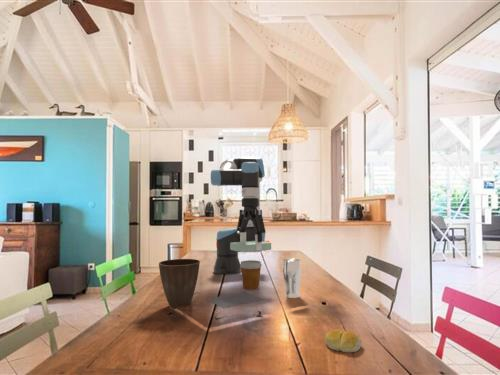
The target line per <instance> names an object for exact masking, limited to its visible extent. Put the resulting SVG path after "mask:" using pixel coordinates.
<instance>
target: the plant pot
mask: <svg viewBox="0 0 500 375" xmlns="http://www.w3.org/2000/svg"><path fill="white" fill-rule="evenodd" d="M200 263H201V261H200V260H199V259H194V258H193V259H192V258H175V259H167V260H162V261H159V262H158V270H159V276H160V280H161V284H162V288H163V291H164V295H165V298H166V301H167V303H168V305H169V308H171V307H172V308H171V309H175V308H178V307H185V306H188V305H190V304H192V301H193V297H194V295H195V294H194V293H195V292H196V286H197V282H198V278H199V271H200Z"/></svg>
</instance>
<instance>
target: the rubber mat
mask: <svg viewBox="0 0 500 375" xmlns="http://www.w3.org/2000/svg"><path fill="white" fill-rule="evenodd" d="M205 300H206V301H207V302H210V303H212V304H214V305H216V306H218V307H220V308H222V309H226V308H231V307H236V306H241V305H246V304H247V305H248V304H252V303H256V302H260V301H265V300H266V299H264V298H261V297H259V296H256V295H254V294H252V293H249V292H246V291H241V292H236V293H231V294H225V295H221V296H214V297H210V298H205Z"/></svg>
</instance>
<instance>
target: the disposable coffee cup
mask: <svg viewBox="0 0 500 375" xmlns="http://www.w3.org/2000/svg"><path fill="white" fill-rule="evenodd" d="M262 265H263V264H262V263H261V261H260V260H253V259H252V260H242V261H241V262H240V267H241V272H240V273H241V278H242V279H241V280H242V286H243V289H244V290H248V291H254V290H257V289H259V287H260V279H261V268H262Z"/></svg>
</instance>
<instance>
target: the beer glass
mask: <svg viewBox="0 0 500 375" xmlns="http://www.w3.org/2000/svg"><path fill="white" fill-rule="evenodd" d="M282 269H283V270H282V272H283V279H284V286H285V294H284V296H285V297H286V298H290V299H296V298H301V295H300V283H301V277H302V264H301V259H300V258H290V257H289V258H284V259H283V268H282Z"/></svg>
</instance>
